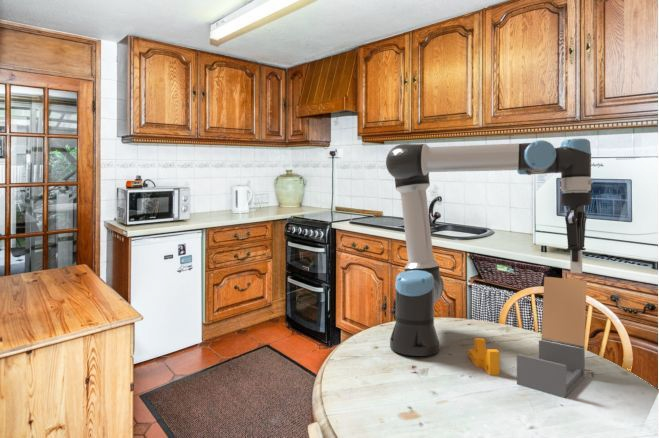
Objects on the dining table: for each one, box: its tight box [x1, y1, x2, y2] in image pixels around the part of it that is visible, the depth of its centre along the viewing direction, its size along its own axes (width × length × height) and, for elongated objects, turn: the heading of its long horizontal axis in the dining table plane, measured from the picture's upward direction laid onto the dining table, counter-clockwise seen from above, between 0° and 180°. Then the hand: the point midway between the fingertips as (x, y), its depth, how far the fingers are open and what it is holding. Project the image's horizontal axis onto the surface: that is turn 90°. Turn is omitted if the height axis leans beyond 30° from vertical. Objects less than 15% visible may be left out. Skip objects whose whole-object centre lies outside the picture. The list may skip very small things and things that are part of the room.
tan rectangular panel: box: [540, 276, 588, 349], centre depth 112 cm, size 10×18×1 cm
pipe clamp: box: [467, 337, 500, 376], centre depth 115 cm, size 12×4×6 cm, turn 0°
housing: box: [516, 339, 586, 398], centre depth 106 cm, size 11×17×8 cm, turn 135°
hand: (576, 272), depth 120 cm, fingers closed
